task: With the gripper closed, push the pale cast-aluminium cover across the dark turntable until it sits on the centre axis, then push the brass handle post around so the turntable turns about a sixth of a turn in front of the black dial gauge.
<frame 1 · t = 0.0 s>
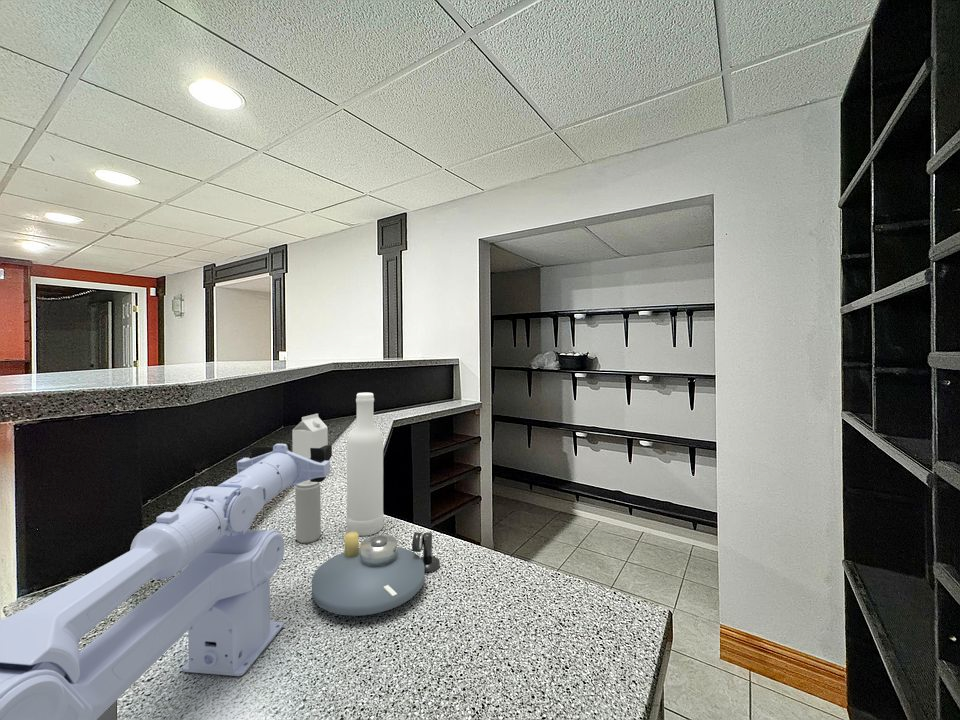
hand: (309, 449, 75), 22 cm above the worktop, tool horizontal, fingers open, 7 cm apart
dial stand: (427, 566, 77), on the worktop
milk carton: (310, 478, 126), on the worktop
bottle: (365, 529, 92), on the worktop
cover: (378, 557, 74), point 3 cm above the worktop, touching turntable
beverage can: (308, 539, 87), on the worktop
turntable: (369, 565, 69), point 4 cm above the worktop, hinge at 0.0°, touching cover
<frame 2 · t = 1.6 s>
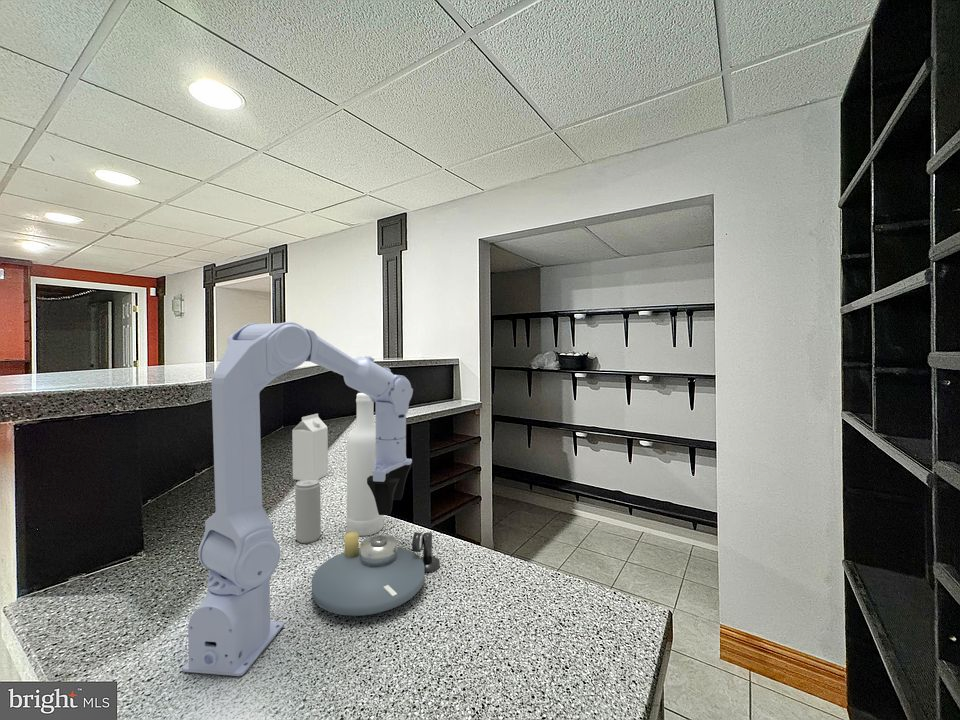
hand: (390, 506, 80), 9 cm above the worktop, tool pointing down, fingers open, 7 cm apart
nothing on the worktop moved.
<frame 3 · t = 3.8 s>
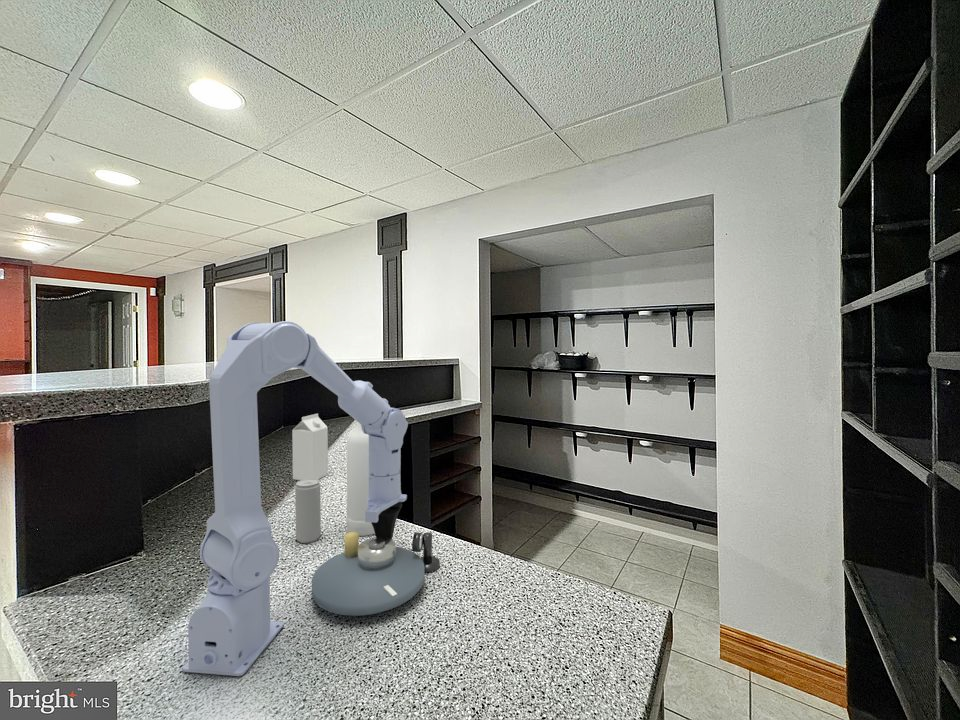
hand: (384, 544, 77), 4 cm above the worktop, tool pointing down, fingers closed
cover: (376, 560, 73), point 3 cm above the worktop, touching gripper, turntable
everything else where it was.
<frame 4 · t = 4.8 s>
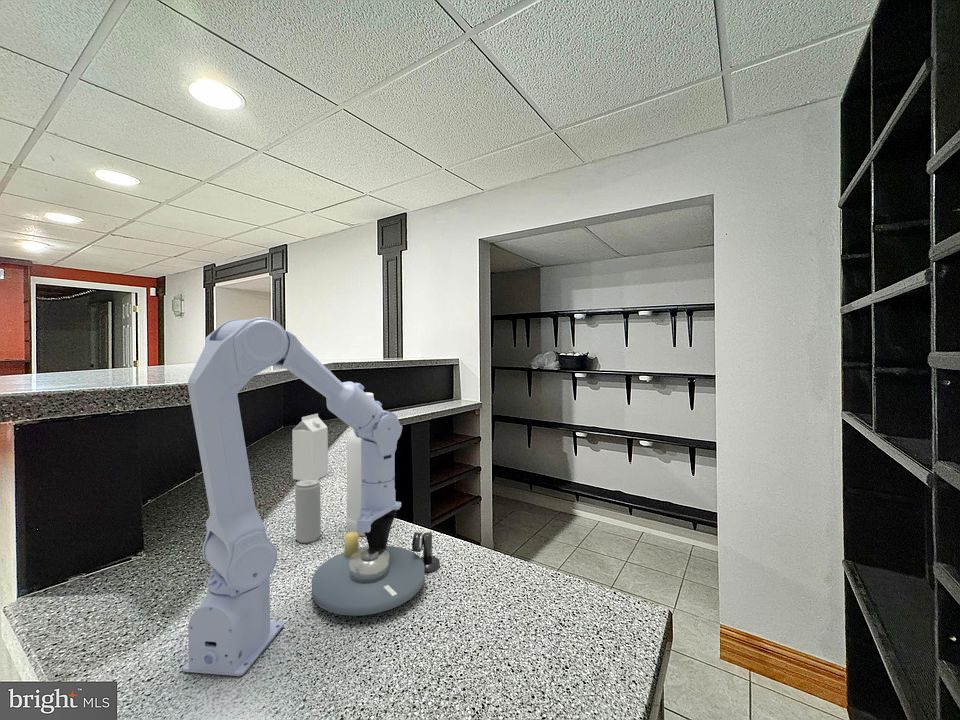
hand: (378, 554, 73), 4 cm above the worktop, tool pointing down, fingers closed
cover: (369, 572, 69), point 3 cm above the worktop, touching gripper, turntable
everything else where it was.
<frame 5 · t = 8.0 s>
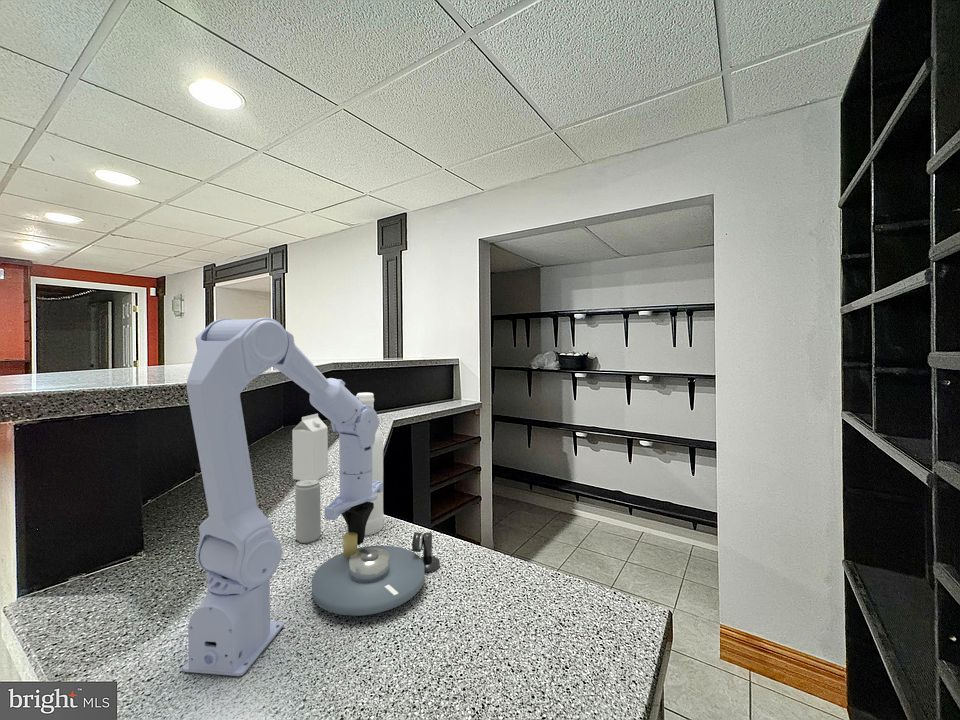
hand: (356, 542, 76), 4 cm above the worktop, tool pointing down, fingers closed, pressing on turntable
cover: (369, 572, 69), point 3 cm above the worktop, touching turntable
turntable: (369, 565, 69), point 4 cm above the worktop, hinge at 1.7°, touching cover, gripper
everything else where it was.
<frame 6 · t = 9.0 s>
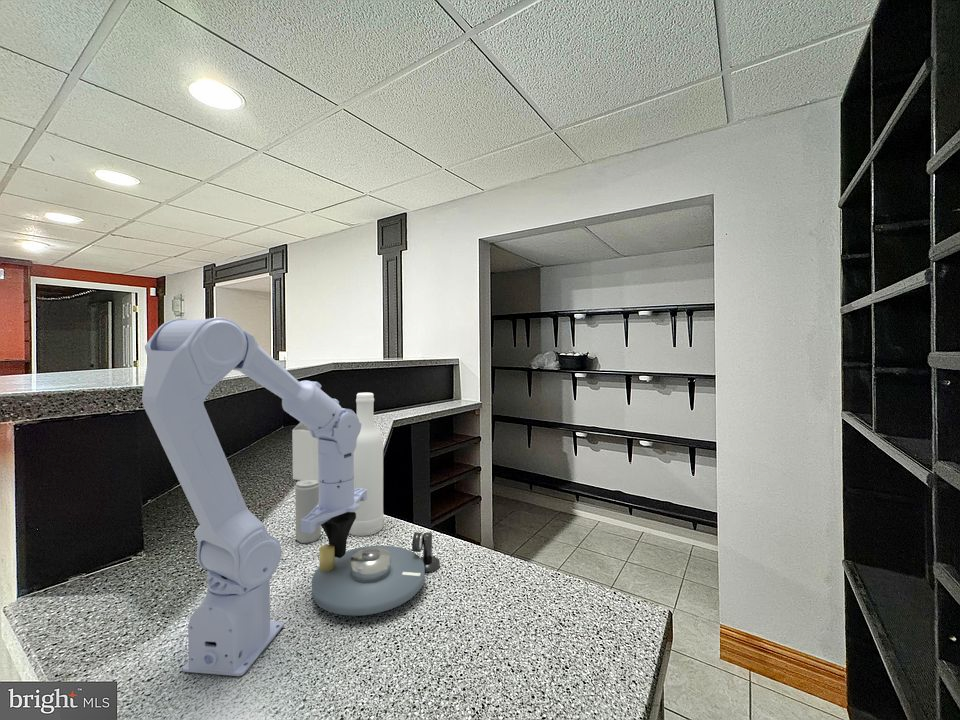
hand: (337, 555, 71), 4 cm above the worktop, tool pointing down, fingers closed, pressing on turntable
turntable: (369, 565, 69), point 4 cm above the worktop, hinge at 43.3°, touching cover, gripper
everything else where it was.
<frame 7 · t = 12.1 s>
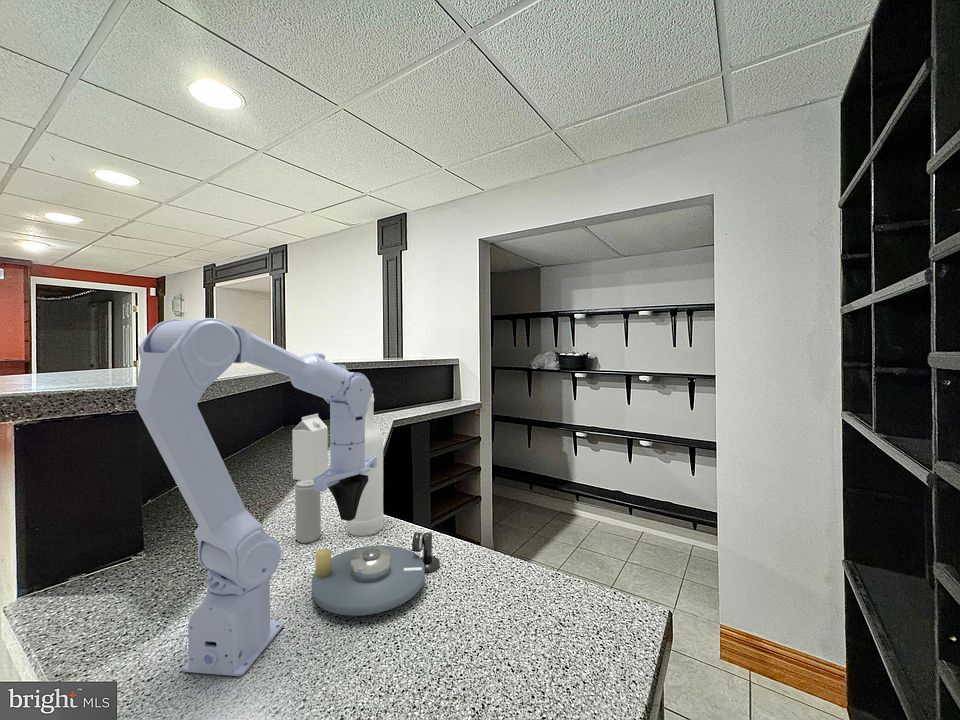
hand: (348, 518, 72), 10 cm above the worktop, tool pointing down, fingers closed
turntable: (369, 565, 69), point 4 cm above the worktop, hinge at 55.3°, touching cover
everything else where it was.
at the end: cover 0.3 cm from the turntable (horizontally); turntable at +55° (first picture: +0°); cover tilted 0° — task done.
